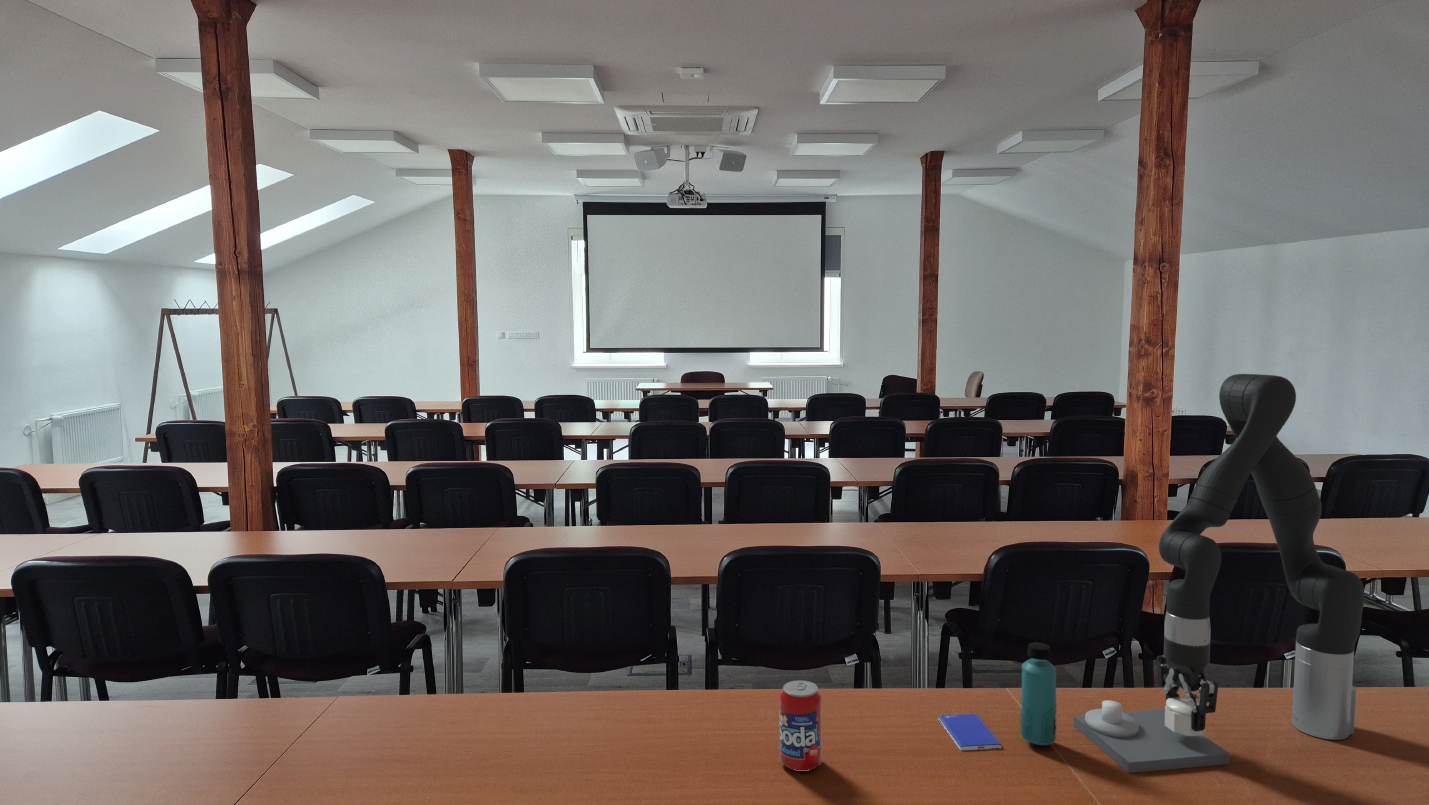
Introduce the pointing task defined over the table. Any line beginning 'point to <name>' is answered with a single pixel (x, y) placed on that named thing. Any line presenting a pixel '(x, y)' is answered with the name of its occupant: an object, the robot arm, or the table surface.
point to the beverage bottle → (1038, 696)
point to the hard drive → (969, 732)
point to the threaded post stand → (1146, 740)
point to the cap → (1180, 716)
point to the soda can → (800, 725)
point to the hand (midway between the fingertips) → (1184, 720)
